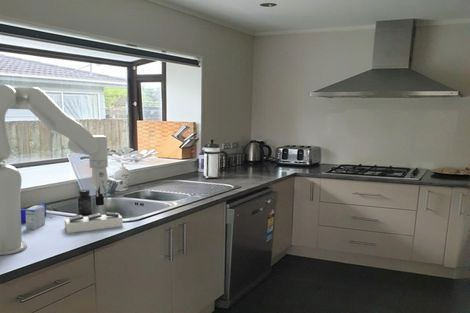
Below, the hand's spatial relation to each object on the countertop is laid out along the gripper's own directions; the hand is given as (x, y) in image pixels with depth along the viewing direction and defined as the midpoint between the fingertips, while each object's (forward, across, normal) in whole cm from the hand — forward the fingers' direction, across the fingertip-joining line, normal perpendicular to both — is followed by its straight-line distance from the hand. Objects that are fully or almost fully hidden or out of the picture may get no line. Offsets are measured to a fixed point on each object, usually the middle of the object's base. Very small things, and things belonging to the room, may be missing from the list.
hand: (99, 204), depth 172 cm
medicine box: (+10, +13, +25) cm, 30 cm away
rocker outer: (+5, 0, -5) cm, 7 cm away
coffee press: (+12, +92, -102) cm, 138 cm away
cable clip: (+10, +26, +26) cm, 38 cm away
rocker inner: (+5, 0, +10) cm, 11 cm away
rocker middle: (+5, 0, +2) cm, 5 cm away
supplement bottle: (+10, +25, +3) cm, 27 cm away
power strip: (+10, +1, +2) cm, 10 cm away
